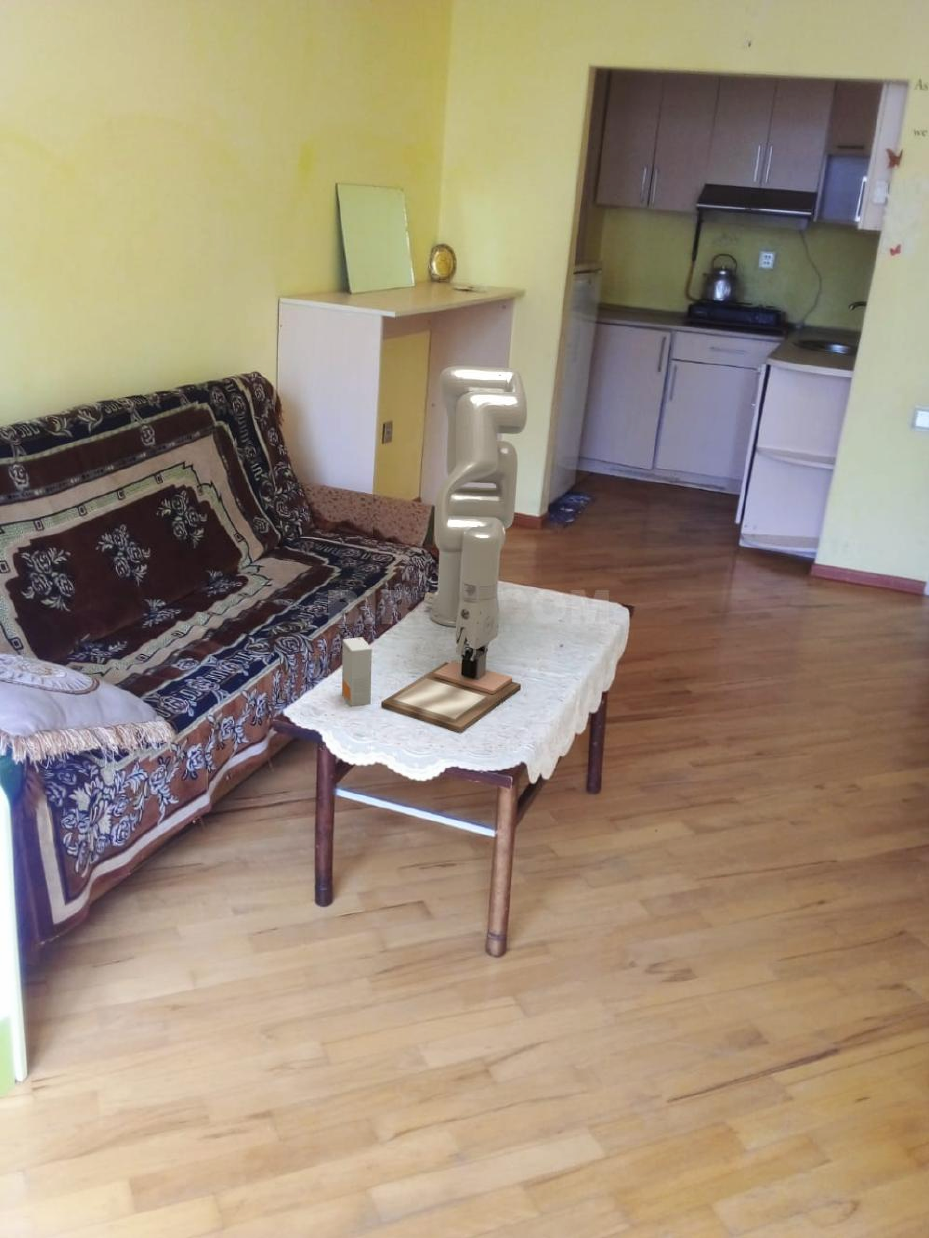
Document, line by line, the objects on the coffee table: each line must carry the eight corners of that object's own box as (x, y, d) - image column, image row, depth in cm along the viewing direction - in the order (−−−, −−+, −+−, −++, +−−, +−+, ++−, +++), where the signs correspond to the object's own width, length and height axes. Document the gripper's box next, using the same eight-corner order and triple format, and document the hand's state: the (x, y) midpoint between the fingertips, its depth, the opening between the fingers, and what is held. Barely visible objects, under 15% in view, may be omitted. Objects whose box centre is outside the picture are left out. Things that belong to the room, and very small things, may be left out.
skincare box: (341, 694, 219) (341, 638, 215) (361, 691, 221) (362, 636, 216) (350, 707, 214) (351, 650, 210) (371, 704, 216) (372, 648, 211)
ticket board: (381, 707, 215) (381, 698, 214) (445, 667, 234) (446, 658, 233) (460, 733, 206) (461, 723, 206) (520, 689, 226) (521, 680, 225)
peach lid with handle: (433, 676, 226) (434, 650, 224) (453, 663, 233) (455, 638, 230) (493, 694, 220) (494, 667, 218) (512, 680, 226) (514, 654, 224)
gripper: (474, 605, 211) (468, 692, 217) (514, 582, 224) (508, 665, 231) (440, 596, 214) (436, 682, 221) (482, 574, 227) (477, 656, 234)
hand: (473, 672), depth 226 cm, fingers closed on peach lid with handle, 3 cm apart
